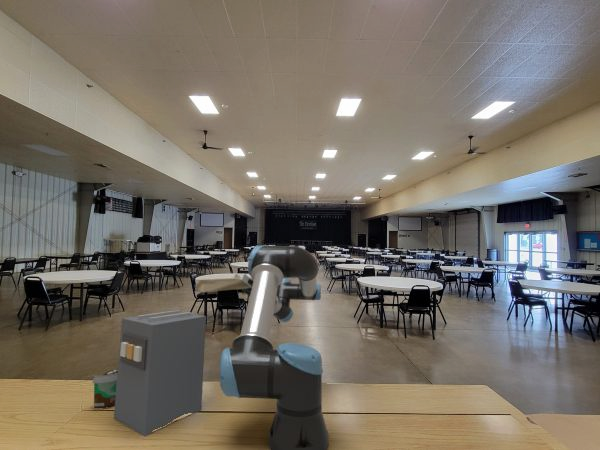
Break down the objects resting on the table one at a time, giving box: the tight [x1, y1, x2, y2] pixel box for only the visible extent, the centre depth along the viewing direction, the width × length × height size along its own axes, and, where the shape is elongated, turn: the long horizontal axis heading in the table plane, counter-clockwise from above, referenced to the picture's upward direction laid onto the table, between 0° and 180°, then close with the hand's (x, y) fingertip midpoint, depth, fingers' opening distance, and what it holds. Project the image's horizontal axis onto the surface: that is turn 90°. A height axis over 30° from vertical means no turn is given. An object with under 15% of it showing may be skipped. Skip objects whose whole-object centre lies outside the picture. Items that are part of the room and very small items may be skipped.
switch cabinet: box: [113, 309, 207, 437], centre depth 94 cm, size 16×19×29 cm
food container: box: [91, 368, 118, 409], centre depth 100 cm, size 12×6×10 cm, turn 168°
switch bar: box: [195, 276, 252, 293], centre depth 118 cm, size 4×26×4 cm, turn 146°
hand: (238, 276), depth 123 cm, fingers closed on switch bar, 4 cm apart
